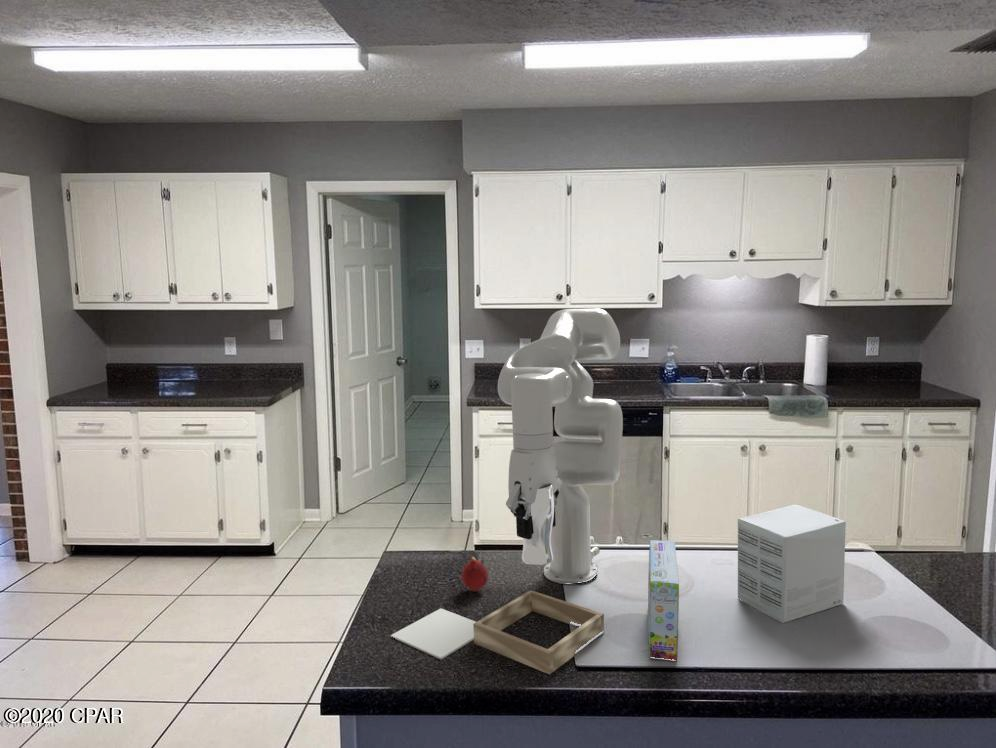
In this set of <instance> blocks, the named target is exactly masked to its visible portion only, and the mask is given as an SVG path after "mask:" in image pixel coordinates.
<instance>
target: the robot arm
mask: <svg viewBox="0 0 996 748" xmlns="http://www.w3.org/2000/svg"><path fill="white" fill-rule="evenodd" d="M547 320H548V321H547V322H546V325H545V327H544V329H543V332H542V334H541V336H540V337H539V339H537V340H535V341H532V342H529V344H526V345H524V346H522V347H521V348H520V347H519V348H517V350H515V351H514V352H512V353H511V354H510V355H509V356H508V357H507V359H506V360H505V363H504V365H503V366H502V368H501V370H500V373H499V376H498V380H497V394H498V396H499V398H500V399H501V401H502V402H503V403H504V404H506V405H510V406H511V415H512V416H511V419H512V421H511V422H512V423H511V424H512V425H511V426H512V445H513V447H512V450H511V451H510V455H509V456H510V457H509V463H508V464H509V465H508V485H507V486H508V487H507V488H508V497H507V500H506V501H505V506H506V507H507V508H508V509H509V511H510V512H511V513H512V515H513V517H514V518H515V524H516V536H517V537H518V538H522V539H523V538H525V539H531V538H532V522H531V518H529V514H530V510H531V504H533V503H534V502H535V499H536V494H537V489H541V488H545V487H548V486H550V484H551V483H552V487H553V496H554V518H553V525H552V532H551V548H552V552H553V561H552V562H551V563H549V564H546V565H544V567H543V575H544V577H545V578H546V579H548V580H549V581H551V582H554V583H557V584H563V585H565V584H564V583H578V582H583V581H586V580H588V579H590V578H591V577H593V576H594V575H595V574H597V572H598V573H599V570H598V567H597V565H596V564H594V562H593V559H594V557H597V556H598V555H599V554H600V553H601V551H600V548H599V547H597V546H594V547H592V548H591V516H590V515H591V507H590V503H591V502H590V499H589V496H588V495H587V493H586V491H585V490H584V488H583V487H582V486H581V485H595V486H610V485H614V484H615V483H616V482H617V481H618V479H619V477H620V473H621V465H622V464H621V463H622V460H621V459H622V446H623V430H624V426H623V425H624V422H623V421H624V419H623V417H624V416H623V411H622V407H621V405H620V404H619V402H618V401H617V400H614V399H609V398H593V393H594V381H593V377H591V375H590V374H589V372H588V371H587V369H586V368H584V367H583V366H582V365H581V364H580V362H579V360H580V361H583V360H585V361H586V360H587V361H588V360H589V361H591V360H592V361H593V360H598V361H599V360H601V361H602V360H603V361H607V360H612V359H615V358H616V357H617V355H618V354H619V352H620V349H621V336H620V331H619V328H618V327H617V324H616V323H615V321H614V319H613V318H612V316H611V315H610V314H609V312H607V311H606V310H605V309H602V308H566V309H560V310H557V311H555V312H554V313H553V314H552V315H550V317H549V318H548V319H547ZM553 408H555V409H554V418H553ZM554 431H555V432H556V434H557V435H558V436H560V437H562V438H567V439H574V440H575V439H576V440H579V439H580V440H599V441H600V442H593V441H590V442H589V441H574V440H571V441H569V440H565V441H564V440H563V441H561V440H560V441H555V442H554ZM521 496H523V498H525V501H522V500H521ZM521 504H524V505H525V509H524V511H523V510H522V509H521ZM594 570H595V571H594Z"/></svg>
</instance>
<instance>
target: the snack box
mask: <svg viewBox="0 0 996 748" xmlns="http://www.w3.org/2000/svg"><path fill="white" fill-rule="evenodd" d="M648 549H649V551H648V575H647V576H648V579H647V580H648V583H647V585H648V586H647V587H648V588H647V594H648V595H647V616H648V617H647V619H648V620H647V623H648V626H647V627H648V650H649V652H648V653H649V654H648V656H649V655H650V657H655V658H664V659H671V660H672V659H674V660H677V661H678V645H679V644H678V643H679V642H678V641H679V615H680V612H679V610H680V609H679V607H680V606H679V605H680V604H679V603H680V584H679V583H680V581H679V580H680V579H679V570H678V569H679V568H678V562H677V551H676V549H677V548H676V541H675V540H656V539H655V540H651V539H650V540H649V548H648Z"/></svg>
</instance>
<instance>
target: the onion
mask: <svg viewBox="0 0 996 748" xmlns="http://www.w3.org/2000/svg"><path fill="white" fill-rule="evenodd" d="M488 573H489V572H488V570H487V568H486V567H485V565H484V564H483V563H482V562H481V561H479V560H477V559H476V557H474V556H472V557H471V560H470V561H469V562H467V564H466V565H465V566H464V567H463V570H462V573H461V580H462V582H463V584H464V585H465V587H467V588H468V590H471V591H472V592H475V593H476V592H478V591H480V590H481V589H482V588H484V587H485V586H486V585H487V582H488V577H489V574H488Z"/></svg>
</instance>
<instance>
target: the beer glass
mask: <svg viewBox="0 0 996 748" xmlns="http://www.w3.org/2000/svg"><path fill="white" fill-rule="evenodd" d="M521 500H522V501H525V498H523V496H521ZM521 509H522V510H523V511H524V509H525V505H524V504H521ZM529 518H531V522H532V538H531V539H525V538H522V542H523V543H522V545H523V546H522V554H521V561H522V563H523V564H525V565H529V566H535V567H537V566H546V565H547V564H549V563H551V562H552V561H553V552H552V548H551V532H552V525H553V518H554V496H553V487H552V483H551V484H550V486H548V487H545V488H541V489H537V494H536V499H535V502H534V503H533V504H531V510H530V514H529Z"/></svg>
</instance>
